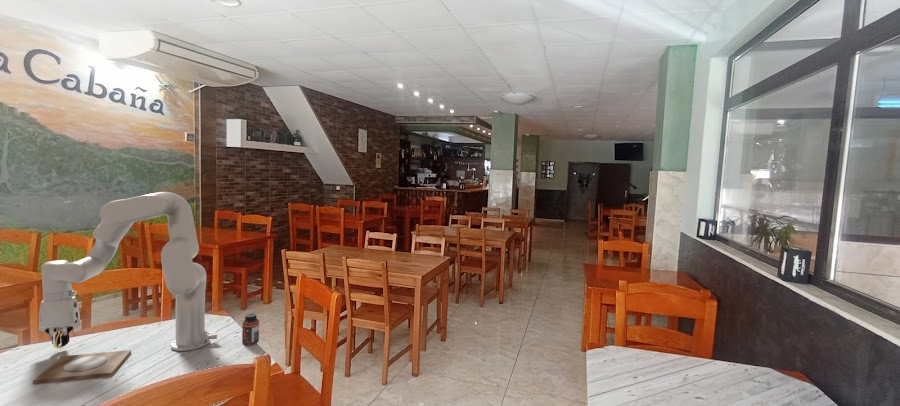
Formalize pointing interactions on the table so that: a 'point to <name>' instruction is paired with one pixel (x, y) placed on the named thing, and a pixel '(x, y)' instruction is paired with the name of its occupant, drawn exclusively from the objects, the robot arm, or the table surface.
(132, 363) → the table surface
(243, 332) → the supplement bottle
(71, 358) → the walnut board
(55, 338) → the bracelet
